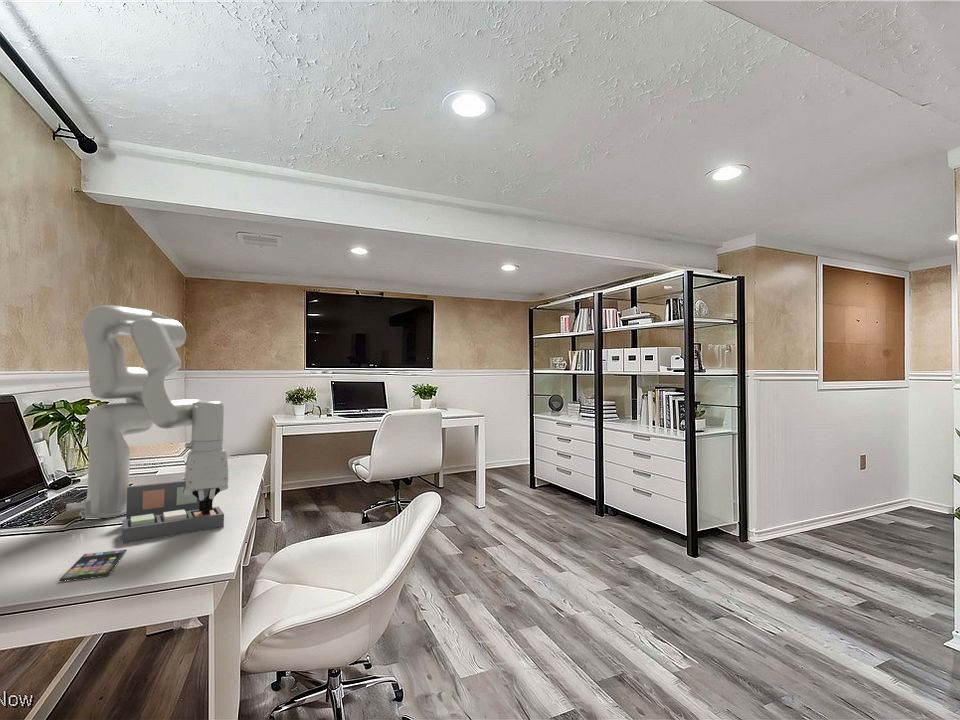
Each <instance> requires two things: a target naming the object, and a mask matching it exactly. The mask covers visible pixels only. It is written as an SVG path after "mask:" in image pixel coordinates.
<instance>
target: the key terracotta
mask: <svg viewBox="0 0 960 720" xmlns="http://www.w3.org/2000/svg"><path fill="white" fill-rule="evenodd" d="M214 514H216V513H215V512H214V510H210V514H208V515H214ZM200 516H207V514H205V515H203V514H202V513H201V512H194V514H193V518H194V517H200Z"/></svg>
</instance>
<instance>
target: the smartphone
mask: <svg viewBox="0 0 960 720" xmlns="http://www.w3.org/2000/svg"><path fill="white" fill-rule="evenodd" d="M127 550H128V549H119V550H118V549H117V550H110V551H109V550H108V551H101V552H100V551H99V552H93V553H91V552H90V553H84V554H83V555H82V556H80V558H79V559H78V560H77V561H76V562H75V563H73V564H72V566H71V567H70V568H69V569H67V571H65V573H64V574H63V575H62V576H61V577H60V578H58V581H65V580H66V581H67V580H74V579H82V580H84V579H83V578H90V579H92V578H91V577H97V578H99V577H98V576H105V577H109V576H110V575H111V573H112V572H113V570H114V569H115V568H116V566H117V565H118V564H119V560H121V559H122V557H124V555H125V553H126V552H127ZM116 564H117V565H116ZM115 565H116V566H115ZM114 567H115V568H114ZM113 568H114V569H113ZM112 569H113V570H112ZM111 571H112V572H111ZM110 572H111V573H110ZM109 574H110V575H109ZM108 575H109V576H108ZM74 581H75V580H74ZM67 582H68V581H67Z"/></svg>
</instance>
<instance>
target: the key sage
mask: <svg viewBox="0 0 960 720" xmlns="http://www.w3.org/2000/svg"><path fill="white" fill-rule="evenodd" d="M154 522H155V518H154V515H153V514H147V515H140V516H133V517H131V523H130V527H133V526H140V525H146V524H153V523H154Z"/></svg>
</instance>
